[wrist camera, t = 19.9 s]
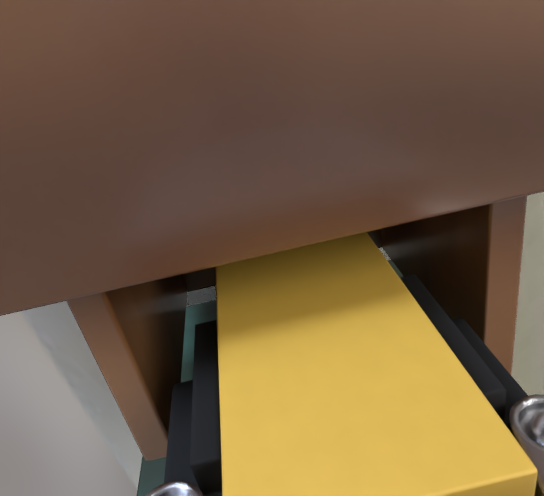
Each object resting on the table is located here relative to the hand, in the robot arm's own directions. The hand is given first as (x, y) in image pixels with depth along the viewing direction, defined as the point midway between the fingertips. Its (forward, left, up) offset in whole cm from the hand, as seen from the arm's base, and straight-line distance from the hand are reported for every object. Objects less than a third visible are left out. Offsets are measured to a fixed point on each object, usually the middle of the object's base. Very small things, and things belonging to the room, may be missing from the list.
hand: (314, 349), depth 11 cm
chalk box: (0, 0, -1) cm, 1 cm away
